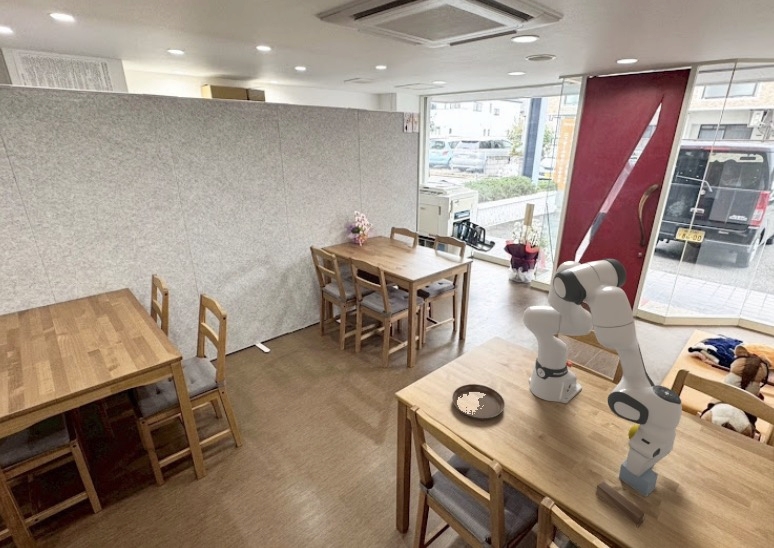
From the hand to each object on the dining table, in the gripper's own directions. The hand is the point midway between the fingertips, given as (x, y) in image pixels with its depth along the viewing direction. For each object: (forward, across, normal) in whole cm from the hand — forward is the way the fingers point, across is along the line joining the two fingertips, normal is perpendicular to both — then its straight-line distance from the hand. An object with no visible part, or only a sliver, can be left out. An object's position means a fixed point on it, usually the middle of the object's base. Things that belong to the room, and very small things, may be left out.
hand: (646, 472), depth 119 cm
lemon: (+2, -12, -9) cm, 15 cm away
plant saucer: (+2, +21, -53) cm, 57 cm away
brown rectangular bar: (+2, +17, +2) cm, 18 cm away
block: (+2, +4, 0) cm, 5 cm away
